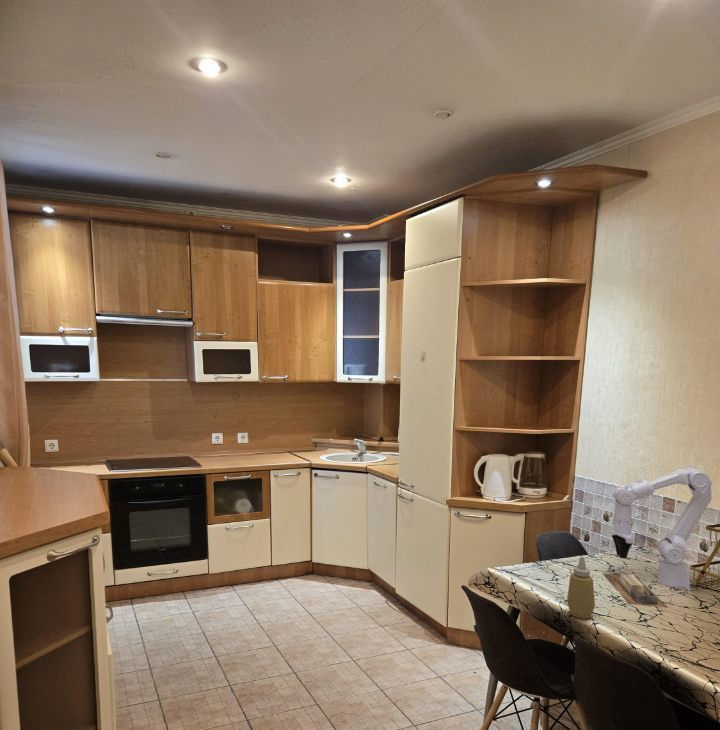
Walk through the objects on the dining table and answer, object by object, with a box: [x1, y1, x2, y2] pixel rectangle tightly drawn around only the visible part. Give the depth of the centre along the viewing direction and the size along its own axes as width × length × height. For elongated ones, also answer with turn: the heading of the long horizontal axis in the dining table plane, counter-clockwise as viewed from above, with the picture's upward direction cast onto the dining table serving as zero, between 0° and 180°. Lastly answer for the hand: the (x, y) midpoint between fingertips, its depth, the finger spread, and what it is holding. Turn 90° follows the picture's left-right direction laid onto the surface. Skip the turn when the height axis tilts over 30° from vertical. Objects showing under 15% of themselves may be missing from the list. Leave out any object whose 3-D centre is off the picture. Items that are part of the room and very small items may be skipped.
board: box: [602, 573, 669, 608], centre depth 179 cm, size 12×26×3 cm, turn 172°
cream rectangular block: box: [620, 573, 644, 595], centre depth 180 cm, size 4×10×3 cm, turn 172°
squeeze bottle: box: [566, 556, 596, 620], centre depth 159 cm, size 8×8×18 cm
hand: (621, 556), depth 190 cm, fingers closed
